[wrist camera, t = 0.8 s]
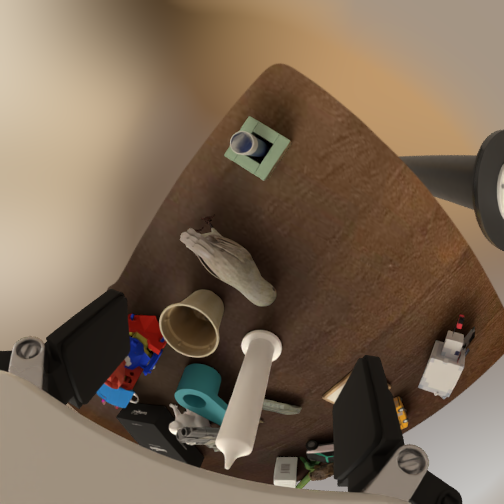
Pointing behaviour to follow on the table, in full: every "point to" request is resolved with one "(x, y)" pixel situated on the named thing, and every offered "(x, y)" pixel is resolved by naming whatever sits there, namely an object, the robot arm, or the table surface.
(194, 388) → the teal mechanical bracket
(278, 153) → the pen stand
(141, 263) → the table surface
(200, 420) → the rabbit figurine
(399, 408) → the toy bus
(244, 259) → the decorative bird
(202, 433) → the toy gun
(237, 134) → the marker
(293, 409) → the stone
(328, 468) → the concrete sample
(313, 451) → the toy car
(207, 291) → the flower pot
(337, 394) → the framed picture
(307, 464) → the decorative plant
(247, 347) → the candle
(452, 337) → the toy
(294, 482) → the cosmetic box
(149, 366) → the toy train
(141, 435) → the box
